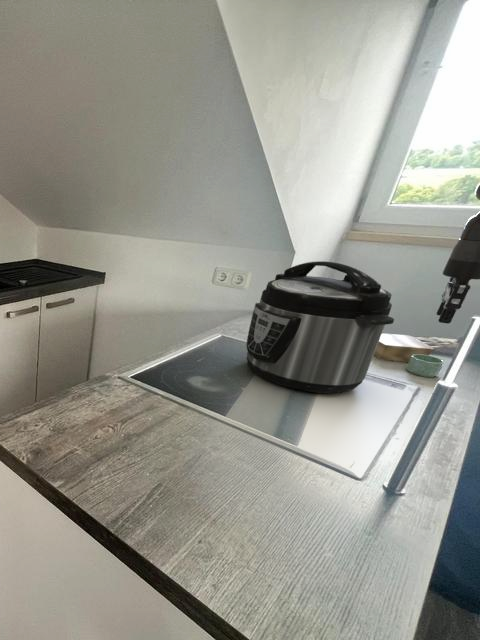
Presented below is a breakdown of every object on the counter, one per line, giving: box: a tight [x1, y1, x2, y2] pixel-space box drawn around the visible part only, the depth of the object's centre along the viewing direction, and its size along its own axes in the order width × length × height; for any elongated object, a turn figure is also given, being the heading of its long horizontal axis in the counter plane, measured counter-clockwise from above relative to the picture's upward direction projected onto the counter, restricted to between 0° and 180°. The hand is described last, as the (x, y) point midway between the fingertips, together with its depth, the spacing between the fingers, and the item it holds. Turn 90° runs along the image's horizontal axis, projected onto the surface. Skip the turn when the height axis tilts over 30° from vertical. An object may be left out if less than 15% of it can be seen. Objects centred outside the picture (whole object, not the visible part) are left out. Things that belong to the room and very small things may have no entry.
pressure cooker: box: [245, 260, 395, 394], centre depth 105 cm, size 30×28×32 cm
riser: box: [373, 332, 436, 363], centre depth 122 cm, size 12×12×5 cm
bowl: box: [405, 354, 445, 378], centre depth 110 cm, size 6×6×4 cm
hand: (442, 319), depth 105 cm, fingers open, 8 cm apart
